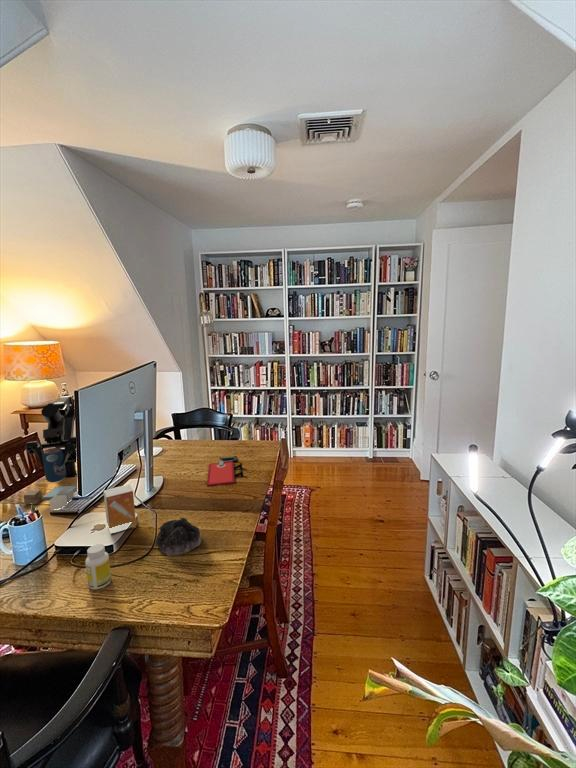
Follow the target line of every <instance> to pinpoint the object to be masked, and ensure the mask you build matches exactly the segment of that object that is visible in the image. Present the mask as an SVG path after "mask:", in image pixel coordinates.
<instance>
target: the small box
mask: <svg viewBox="0 0 576 768" xmlns="http://www.w3.org/2000/svg"><path fill="white" fill-rule="evenodd" d="M134 496H135V495H134V490H133V489H132V486H131V485H130V484H126V485H121V486H120V485H119V486H116V487H113V488H108V489H106V490H103V499H104V508H105V517H106V524H107V523H108V526H109V528H112V527H115V526H118V525H122V524H125V523H129V522H132V523H133V525H134V528H133V529H135V528H137V521H136V509H135V499H134Z"/></svg>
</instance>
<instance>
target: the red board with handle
mask: <svg viewBox="0 0 576 768" xmlns="http://www.w3.org/2000/svg"><path fill="white" fill-rule="evenodd" d="M234 462H238V456H236V455H234V456H227V457H225V456H224V457H219V462H216V463H209V464H208V472H207V479H206V480H207V481H206V486H207V487H212V486H213V487H214V486H224V485H233V484H234V485H235V484H236V483H235V481H236V480H235V478H236V477H241V478H243V477H244V470H243V462H239V464H238V465H234V464H235V463H234ZM237 469H239V470H240V471H239V472H237V473H235V470H237Z"/></svg>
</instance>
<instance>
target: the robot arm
mask: <svg viewBox="0 0 576 768" xmlns="http://www.w3.org/2000/svg"><path fill="white" fill-rule="evenodd" d="M40 413H41V415H42V417H43V419H44V420H45V422H46V423H48V424H47V428H46V429H43V430H42V439H44V442H46V443H40V442H39V441H38V440H33V441H28V442H26V443H25V444H24V445H25V446H24V449H25V451H26V452H27V454H29V455H35V456H37V457H38V459H39V461H40V462H39V463H40V465H41V467H43V468H44V464H43V458H42V456H43V454H44V450H45V449H51V448H61V451H62V452H63V454H64V457H63V463H64V464H65V468H66V476H65V478H64V479H67V478H68V479H69V478H75V476H76V471H77V469H76V463H77V462H76V450H77V449H76V436H74V430H75V421H76V420H75V417H74V397H73V396H72V395H62V396H60V397H59V398H58V400H57V401H56V402H48V403H47V405H45V406H44V407H43V408H42V409H41V411H40Z"/></svg>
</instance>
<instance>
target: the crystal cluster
mask: <svg viewBox="0 0 576 768" xmlns="http://www.w3.org/2000/svg"><path fill="white" fill-rule="evenodd" d="M201 543H202V537H201V531H200V529H199V528H198V527H197V526H195V525H193V524H192V523H190V522H189V521H188V519H187V518H185V517H181V518H180V519H173V520H168V521H166V522H164V523H162V524H161V525H160V527H159V532H158V533H157V536H156V539H155V544H156V545H155V546H157V547H158V548H159V550H160V552H161V553H163V554H165V555H166V556H168V557H173V556H180V555H183V554H185V553H188V552H190V551H191V552H192V551H193V550H194V549H196V548H197V547H199V546H200V545H201Z"/></svg>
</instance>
